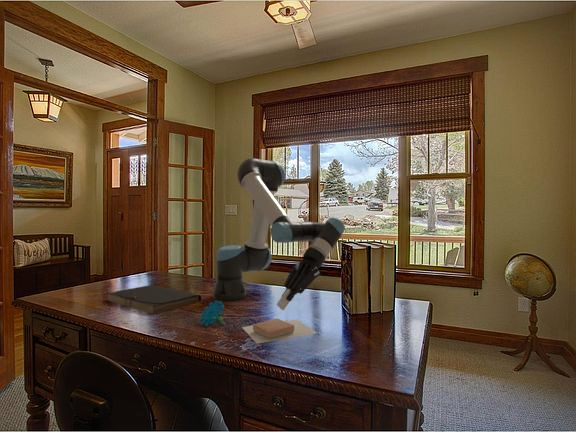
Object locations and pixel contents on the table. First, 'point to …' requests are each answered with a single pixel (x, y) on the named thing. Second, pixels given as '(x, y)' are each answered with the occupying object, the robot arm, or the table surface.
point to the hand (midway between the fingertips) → (280, 307)
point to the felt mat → (299, 330)
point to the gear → (212, 314)
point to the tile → (273, 328)
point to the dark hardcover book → (152, 298)
